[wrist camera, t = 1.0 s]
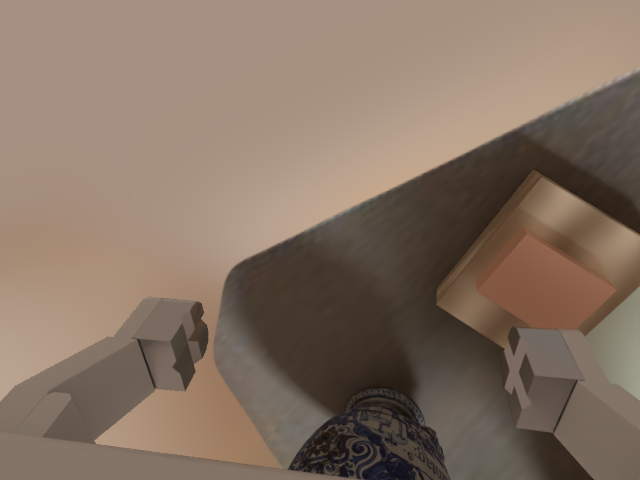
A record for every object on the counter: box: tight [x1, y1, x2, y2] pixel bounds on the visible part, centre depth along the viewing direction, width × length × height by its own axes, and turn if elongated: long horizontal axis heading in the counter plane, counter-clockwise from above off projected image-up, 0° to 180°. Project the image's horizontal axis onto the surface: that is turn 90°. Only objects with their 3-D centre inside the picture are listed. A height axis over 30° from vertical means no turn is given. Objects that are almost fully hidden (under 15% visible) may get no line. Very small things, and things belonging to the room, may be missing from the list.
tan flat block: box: [436, 169, 640, 349], centre depth 41 cm, size 13×16×4 cm
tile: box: [475, 226, 617, 330], centre depth 39 cm, size 9×7×2 cm
